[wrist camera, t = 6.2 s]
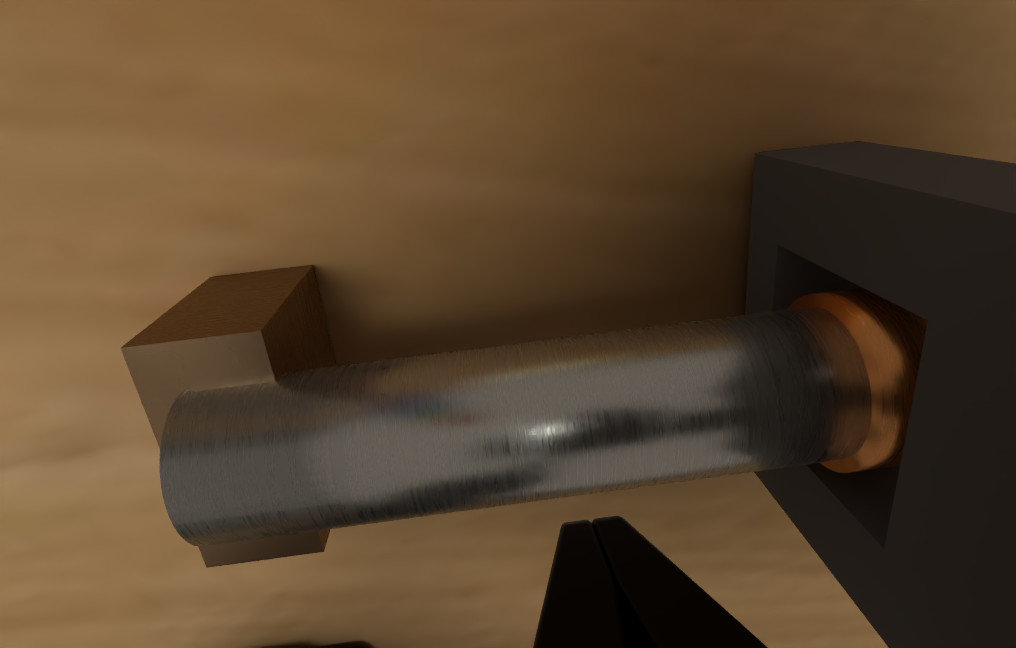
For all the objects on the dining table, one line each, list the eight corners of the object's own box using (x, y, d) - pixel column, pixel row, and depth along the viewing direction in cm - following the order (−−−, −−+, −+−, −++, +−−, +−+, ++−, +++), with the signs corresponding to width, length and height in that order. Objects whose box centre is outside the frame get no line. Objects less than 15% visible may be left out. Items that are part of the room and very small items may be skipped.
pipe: (265, 453, 16) (168, 642, 10) (210, 277, 14) (57, 397, 8) (927, 367, 16) (1153, 503, 11) (963, 187, 14) (1256, 247, 9)
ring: (736, 449, 16) (996, 787, 8) (754, 152, 13) (1187, 254, 5) (820, 437, 16) (1154, 762, 9) (857, 140, 13) (1430, 223, 5)
